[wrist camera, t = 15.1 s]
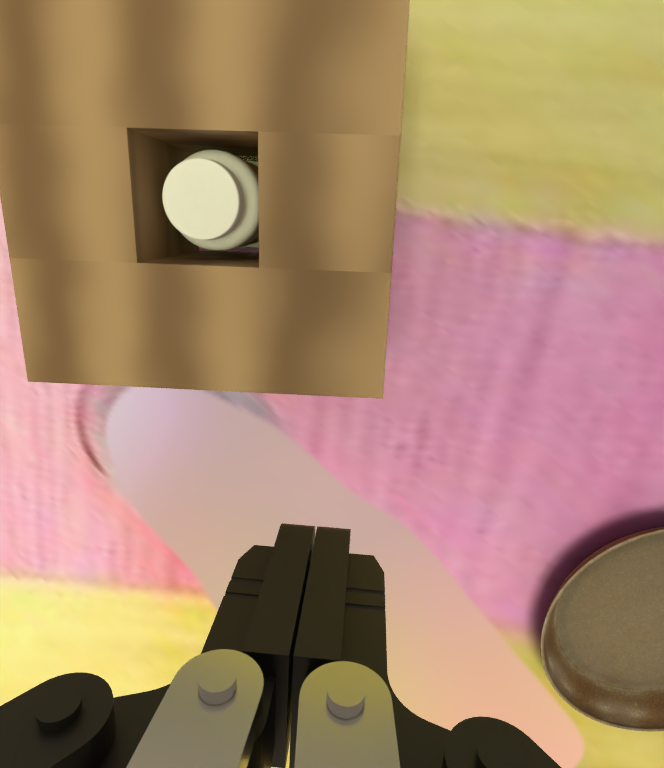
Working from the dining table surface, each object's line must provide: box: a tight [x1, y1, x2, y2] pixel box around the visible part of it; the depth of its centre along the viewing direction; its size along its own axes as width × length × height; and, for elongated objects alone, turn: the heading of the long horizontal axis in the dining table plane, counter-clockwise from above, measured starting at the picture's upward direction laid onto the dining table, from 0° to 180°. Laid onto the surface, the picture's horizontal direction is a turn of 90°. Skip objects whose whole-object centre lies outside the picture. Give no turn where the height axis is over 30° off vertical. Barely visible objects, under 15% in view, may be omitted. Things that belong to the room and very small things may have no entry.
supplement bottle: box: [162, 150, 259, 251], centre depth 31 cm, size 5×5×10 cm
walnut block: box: [0, 0, 410, 399], centre depth 31 cm, size 20×20×11 cm
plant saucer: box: [541, 527, 664, 731], centre depth 44 cm, size 21×21×3 cm
